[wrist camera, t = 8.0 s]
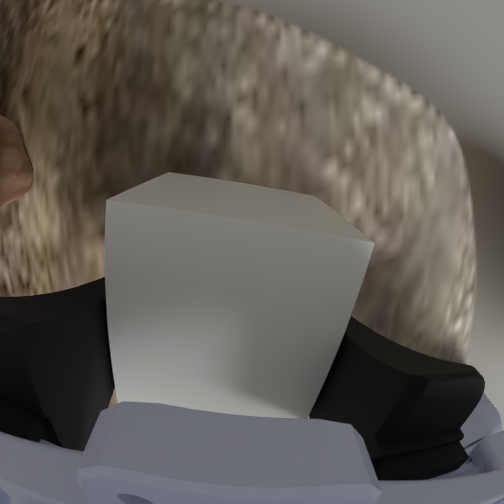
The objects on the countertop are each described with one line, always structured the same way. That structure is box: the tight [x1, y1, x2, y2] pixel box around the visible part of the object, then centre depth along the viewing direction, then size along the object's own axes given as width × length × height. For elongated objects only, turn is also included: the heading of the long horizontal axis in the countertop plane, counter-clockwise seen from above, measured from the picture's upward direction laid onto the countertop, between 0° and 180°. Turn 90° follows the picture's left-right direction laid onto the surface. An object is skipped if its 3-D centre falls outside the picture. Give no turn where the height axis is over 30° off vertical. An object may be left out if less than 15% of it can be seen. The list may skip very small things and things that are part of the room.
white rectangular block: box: [105, 172, 375, 419], centre depth 10 cm, size 6×9×6 cm, turn 170°
